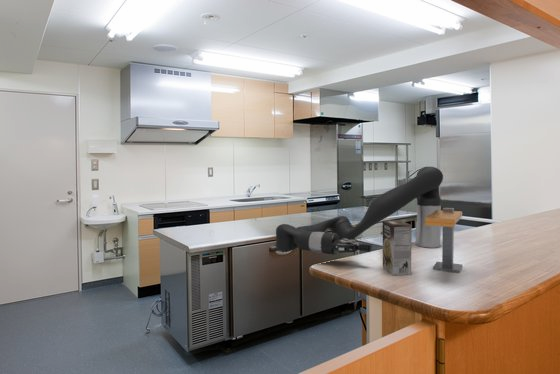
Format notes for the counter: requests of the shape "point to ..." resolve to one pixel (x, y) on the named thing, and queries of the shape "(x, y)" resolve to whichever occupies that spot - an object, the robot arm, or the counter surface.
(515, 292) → the counter surface
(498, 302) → the counter surface
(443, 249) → the grey orange pedestal
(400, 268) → the coffee box
